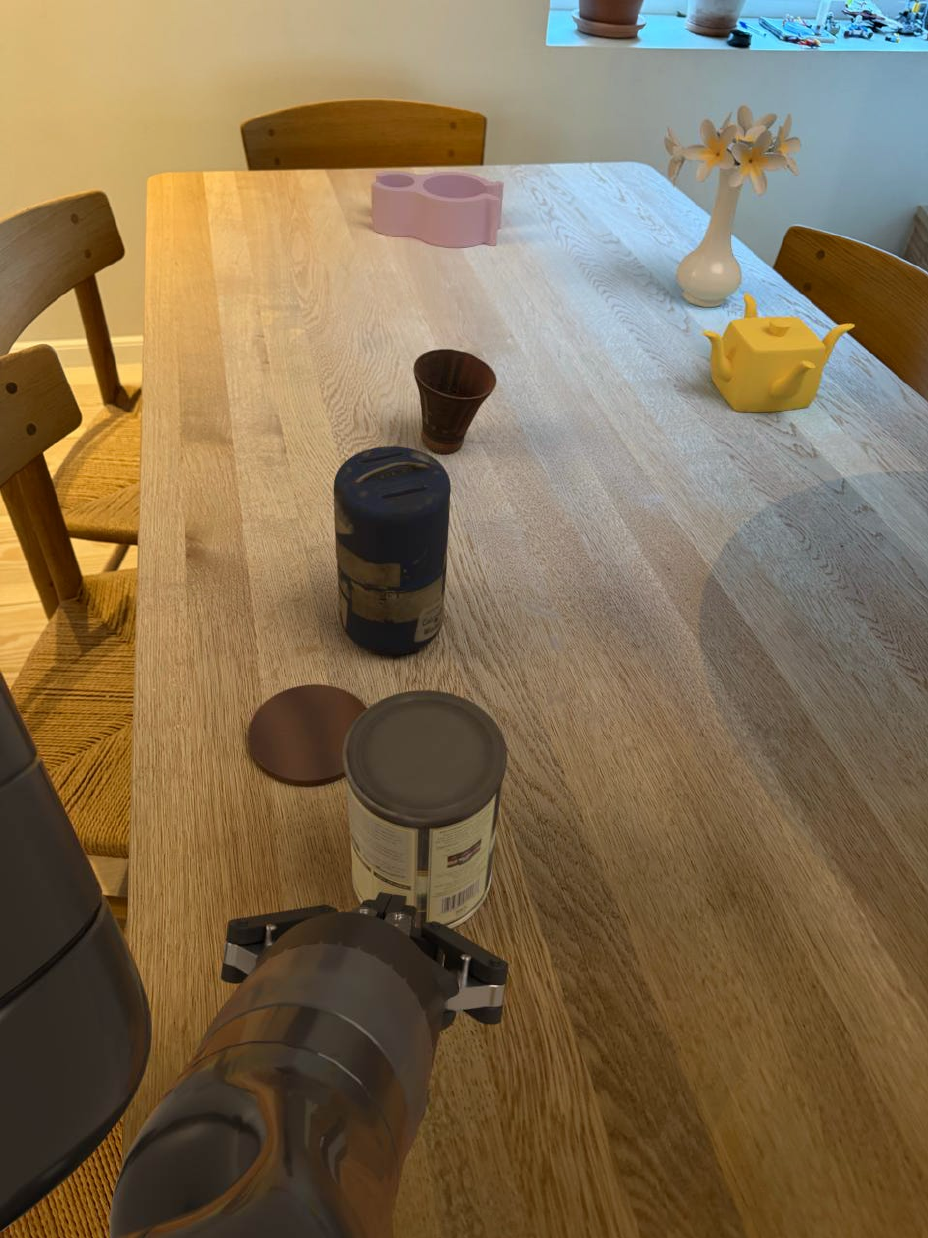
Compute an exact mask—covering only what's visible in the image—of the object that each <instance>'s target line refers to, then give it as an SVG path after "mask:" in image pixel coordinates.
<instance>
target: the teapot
mask: <svg viewBox="0 0 928 1238" xmlns="http://www.w3.org/2000/svg"><path fill="white" fill-rule="evenodd" d="M743 300H744V315H743V318H737V319H732V320H730V321H729V322H728V324H727V326H726V328H725V331H724V332H723V334H722V336H721V335H720V334H719V333H718V332H716V331H712V330H701V331H700V334H702V336H705V337H706V338H708V340H709V342H710V345H711V347H710V359H709V360H710V361H709V362H710V368H711V374H710V375H711V380H712V383H713V384H714V386H715V387H716V388H717V390H718V392H719V393H720V394H721V396H722V397H723V398H724V399H725V401H726V402H727V403H728V405H729V406H730V407H731V408H732V410H734V411H735V412H740V413H775V412H786V411H792V410H793V411H795V410H801V409H805V408H809V407H810V406H811V405H812V403H813V401H814V400H815V398H816V396H817V393H818V391H819V387H820V384H821V381H822V380H821V379H822V376H823V372H824V371H823V370H824V367H825V366H826V365H827V363H828V361H829V359H830V357H831V355H832V352H833V350H834V348H835V346H836V344H837V342H838V341H839V339H840V338H841V337H842V336H843V335H844V334H845V333H847V332H849V331H850V330H851V329H854V328H855V327H856V326H855V324H854V323H843V324H839V325H836V326H834V327H833V328H832V329H831V330H829V331H828V333H827V334H826V335H825V336H824V338H822V340H821V339H820V337H818V336H817V334H816V333H815V332H814V331H813V330H812V329H811V328H810V327H809V326H808V325H807V324H806V323H805V322H804V321H803V320H802V319H801V318H800V317H798V316H758V307H757V302H756V300H755V298H754V296H752V295H751V294H750V293H744V294H743Z"/></svg>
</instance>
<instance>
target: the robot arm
mask: <svg viewBox="0 0 928 1238" xmlns="http://www.w3.org/2000/svg"><path fill="white" fill-rule="evenodd" d="M39 751H40V750H39V748H38V745H37V744H36V742H35V740H34V738H33V735H32V733H31V731H30V729H29V727H28V725H27V723H26V720H25V718H24V716H23V715H22V712H21V711H20V708H19V705H18V703H17V702H16V700H15V697H14V695H13V694H12V692H11V689H10V687H9V685H8V683H7V680H6V679H5V676H4V675H3V673H2V670H1V669H0V1234H1V1233H2V1232H3V1231H5V1230H6V1229H8V1228H9V1227H10V1226H12V1225H13V1224H14V1223H15V1222H17V1221H18V1220H20V1219H21V1218H22V1217H23V1216H25V1215H26V1214H28V1213H29V1212H30V1211H32V1209H33V1208H34V1207H36V1206H37V1205H39V1203H41V1201H43V1200H44V1199H45V1198H47V1197H48V1196H49V1195H50V1194H51V1193H53V1192H54V1191H55V1190H56V1189H57V1188H58V1187H59V1186H61V1185H62V1184H63V1183H64V1182H66V1181H67V1180H68V1179H69V1178H70V1177H71V1176H72V1175H73V1174H74V1173H75V1172H76V1171H77V1170H78V1169H79V1168H80V1167H81V1166H82V1165H83V1164H84V1163H85V1162H86V1161H87V1160H88V1159H89V1158H90V1157H91V1156H92V1155H93V1154H94V1153H95V1151H96V1150H97V1149H98V1148H100V1146H101V1144H102V1143H103V1142H104V1141H105V1140H106V1139H107V1137H108V1136H109V1135H110V1134H111V1132H112V1131H113V1129H114V1128H115V1126H116V1125H118V1123H119V1121H120V1120H121V1119H122V1118H123V1115H124V1114H125V1113H126V1112H127V1110H128V1107H129V1106H130V1104H131V1103H132V1100H133V1099H134V1097H135V1096H136V1093H137V1092H138V1090H139V1088H140V1085H141V1083H142V1080H143V1079H144V1076H145V1073H146V1070H147V1066H148V1063H149V1059H150V1054H151V1048H152V1038H153V1028H152V1027H153V1026H152V1016H151V1015H152V1014H151V1009H150V1003H149V997H148V996H147V992H146V990H145V986H144V983H143V979H142V976H141V974H140V971H139V968H138V965H137V963H136V961H135V957H134V956H133V954H132V953H133V952H132V951H131V948H130V946H129V944H128V942H127V939H126V936H125V934H124V932H123V930H122V928H121V925H120V923H119V921H118V919H117V918H116V915H115V913H114V910H113V908H112V907H111V904H110V902H109V901H108V899H107V896H106V894H104V893H103V891H104V890H103V888H102V885H101V883H100V881H99V879H98V876H97V874H96V872H95V870H94V867H93V865H92V863H91V861H90V859H89V857H88V854H87V853H86V850H85V849H84V846H83V844H82V842H81V839H80V838H79V835H78V833H77V831H76V829H75V827H74V824H73V822H72V820H71V818H70V816H69V813H68V811H67V809H66V807H65V805H64V803H63V801H62V799H61V796H60V794H59V792H58V789H57V788H56V785H55V783H54V780H53V778H52V777H51V775H50V772H49V770H48V768H47V766H46V764H45V761H44V759H43V757H42V755H40V754H39ZM406 900H407V896H402V895H396V894H389V893H383V892H379V894H378V896H377V897H376V899H375V900H371V899H367V900H365V901H363V902H362V904H361V903H360V906H357V907H353V908H352V909H351V910H349V911H345V910H341V911H339V909H338V908H336V907H334V906H332V905H330V904H319V905H313V906H306V907H300V908H295V909H288V910H282V911H281V910H280V911H275V912H269V913H263V914H257V915H252V916H246V917H238V918H232V919H229V920H228V921H227V929H226V936H225V938H224V945H223V952H222V953H223V954H222V965H221V972H220V979H221V981H223V982H224V983H228V984H231V985H237V984H239V985H238V986H237V988H236V989H235V990H234V991H233V993H232V994H231V996H229V998H228V999H227V1000H226V1001H225V1003H224V1004H223V1006H221V1008H220V1009H219V1011H218V1012H217V1013H216V1015H215V1016H214V1017H213V1019H212V1020H211V1022H210V1024H209V1026H208V1027H207V1029H206V1031H205V1033H204V1035H203V1037H202V1038H201V1041H200V1043H199V1045H198V1047H197V1050H196V1053H195V1054H194V1055H193V1057H192V1058H191V1060H190V1061H189V1062H188V1063H187V1065H186V1066H185V1067H184V1069H183V1070H182V1071H181V1072H180V1073H179V1075H178V1076H177V1078H176V1079H175V1080H174V1082H172V1083H171V1085H169V1087H168V1089H167V1090H166V1091H165V1092H164V1094H163V1095H162V1097H161V1098H160V1099H159V1100H158V1101H157V1103H156V1104H155V1105H154V1107H153V1108H152V1110H151V1111H150V1112H149V1114H148V1116H147V1117H146V1119H145V1120H144V1122H143V1123H142V1125H141V1127H140V1129H139V1131H138V1132H137V1134H136V1136H135V1137H134V1139H133V1141H132V1142H131V1144H130V1146H129V1148H128V1149H127V1152H126V1155H125V1157H124V1159H123V1163H122V1165H121V1168H120V1170H119V1173H118V1175H117V1178H116V1181H115V1184H114V1190H113V1194H112V1201H111V1205H110V1212H109V1227H108V1228H109V1229H108V1232H109V1238H395V1231H394V1213H395V1209H396V1203H397V1197H398V1193H399V1188H400V1185H401V1184H400V1183H401V1179H402V1176H403V1175H402V1174H403V1170H404V1165H405V1162H406V1159H407V1157H408V1155H409V1153H410V1151H411V1149H412V1147H413V1144H414V1143H415V1140H416V1138H417V1135H418V1132H419V1129H420V1127H421V1124H422V1122H423V1120H424V1117H425V1115H426V1112H427V1109H428V1107H429V1103H430V1094H431V1091H430V1084H431V1083H430V1082H431V1078H432V1073H433V1067H434V1062H435V1057H436V1053H437V1048H438V1043H439V1038H440V1033H441V1032H443V1031H445V1030H447V1029H449V1028H450V1027H451V1026H452V1025H453V1023H455V1020H456V1017H457V1014H463V1013H465V1014H466V1015H467V1016H469V1017H471V1018H472V1019H473V1020H474V1021H476V1022H478V1023H481V1024H483V1025H487V1026H489V1025H491V1026H492V1025H493V1026H494V1025H499V1024H501V1022H502V1019H503V1009H504V1003H505V995H506V989H507V981H508V974H509V973H508V972H509V966H510V965H509V962H507V961H505V960H504V959H502V958H501V957H499V956H497V955H496V954H494V953H492V952H491V951H489V950H487V949H485V948H484V947H483V946H481V945H479V944H477V943H475V942H474V941H473V940H470V939H469V938H467V937H466V936H464V935H463V934H461V933H459V932H458V931H456V930H454V929H453V928H452V929H451V928H449V927H447V926H445V925H443V924H441V923H439V922H435V921H432V922H426V923H423V924H422V929H419V928H417V927H415V923H416V916H417V908H416V907H415V906H411V905H406ZM0 1238H2V1237H1V1236H0Z"/></svg>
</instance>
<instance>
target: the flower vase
mask: <svg viewBox="0 0 928 1238" xmlns="http://www.w3.org/2000/svg"><path fill="white" fill-rule="evenodd" d="M732 114H733V110H731V111H730V112H729V114H728V115H727V117H726V118H725V120H724V122H723V123H722V125H721V127H719V129H718V130H717V129H716V126H715V124H714V122H712V120H711V119H709V118H705V119H703V120H702V122H701V123H700V126H699V127H700V128H699V133H700V138H701V141H702V143H703V144H702V143H701V144H700V143H696V144H691V145H688V146H686V147H684V145H683V144H682V143H681V141H679V139H678V138H677V137H676V135H675V134H674V132H673V130H672V128H671V127H670V125H669V124H668V123H667V124H666V128H667V132H668V136H664V139H663V142H664V146H665V149H666V151H667V153H668V154H669V155H670V156H673V157H672V158H671V159H670V160H669V162H668V167H667V178H668V180H670V179H671V178H673V179H672V187H673V188H675V185H676V183H677V180H678V177H679V174H680V172H681V169H682V167H683V165H684V162H685V161H688V162H690V163H691V162H701V163H700V164H698V166H697V169H696V173H695V180H696V182H697V183H703V182H704V181H706V180H707V179H708V178H709V176H710V175H711V173H712V171H713V170H714V168H715V167H716V166H717V167H718V181H717V182H718V184H717V191H716V196H715V200H714V203H713V208H712V212H711V216H710V218H709V222H708V226H707V229H706V231H705V233H704V235H703V237H702V240H701V241H700V242H699V244H698V245H697V247H696V248H694V249H693V250H692V251H691V252H689V253H688V254H686V255H685V256H684V257H683V258H682V260H681V261H680V262H679V264H678V266H677V267H676V270H675V271H676V272H675V278H676V281H677V283H678V286H679V287H680V289H681V290H682V296H683V298H684V300H685V301H687V303H690V304H691V305H694V306H698V307H702V308H715V307H716V308H717V307H719V306H721V305H723V304H724V303H725V302H726V300H727V299H728V298H729V297H730V296H732V295H734V294H735V293H736V292H737V291H738V289H739V288H740V286H741V285H742V281H743V274H742V267H741V265H740V263H739V261H738V260H737V259H736V257H735V255H734V253H733V247H732V232H733V225H734V221H735V215H736V210H737V206H738V201H739V197H740V195H741V191H742V188H743V186H744V183H745V182H746V181H747V180H748V179H749V183H750V186H751V188H752V190H753V192H754V194H756V195H758V196H763V195H765V194H766V192H767V190H768V177H767V175H766V172H775V171H778V170H781V169H784V170H785V171H786V170H787V169H789V171H790V172H791V173H792V174H793V176H795V177H799V170H798V165H797V163H796V160H795V159H794V158H793V157H792V155H795V154H797V153H798V152H799V151H800V150H801V149H802V148H801V147H802V141H801V139H800V138H799V137H798V136H790V133H791V130H792V115H791V113H788V114H787V115H786V117H785V120H784V122H783V125H778V126H779V127H778V130H777V135H773V134H772V131H771V130H769V129H771V127H773V125H774V124H775V123H776V122H777V120H778V119H777V118H778V115H777V114H776V113H774V112H771V113H767V114H764V115H763V116H761V117H759V118H758V119H757V120H756V121H755V119H754V115H753V112H752V109H751V108H750V107H749V106H748V105H746V104H742V105H740V106H739V107H738V108H737V111H736V119H737V123H736V122H732V121H731V118H732ZM754 121H755V122H754ZM789 136H790V137H789ZM774 140H775V141H774ZM732 143H733V144H732ZM731 144H732V145H731ZM730 145H731V146H730ZM729 146H730V149H729ZM765 171H766V172H765Z"/></svg>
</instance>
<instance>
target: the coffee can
mask: <svg viewBox="0 0 928 1238" xmlns="http://www.w3.org/2000/svg"><path fill="white" fill-rule="evenodd" d="M366 708H367V709H366V710H365V711H364V712H363V713H362V714H361V715H360V716H359V717H358V718H357V719H356V720H355V721H354V723H353V724H352V726H351V728H350V729H349V731H348V733H347V736H346V738H345V742H344V746H343V755H342V758H343V766H344V771H345V775H346V776H345V782H346V795H347V810H348V811H347V812H348V824H349V826H348V827H349V837H350V840H349V841H350V853H351V882H352V887H353V891H354V893H355V895H356V897H357V900H358V901H359V903H360V905H361V904H362V902H363V901H365V900H367V899H371V900H375V899H376V897H377V896H378V894H379V892H383V893H389V894H396V895H402V896H407V900H406V905H411V906H415V907H416V908H417V916H416V923H415V927H417V928H419V929H422V924H423V923H426V922H432V921H435V922H439V923H441V924H443V925H445V926H447V927H449V928H451V929H452V930H453V929H455V928H456V927H458V926H460V925H462V924H463V923H464V922H466V921H467V920H468V919H470V918H471V917H472V916H474V914H475V913H476V912H477V911H478V910H479V908H480V907H481V906H482V904H483V903H484V902H485V901H486V898H487V896H488V893H489V892H490V891H489V890H490V888H491V883H492V877H493V876H492V874H493V869H492V868H493V860H494V850H495V843H496V835H497V827H498V826H497V824H498V818H499V812H500V802H501V793H502V788H503V787H502V786H503V781H504V779H505V775H506V771H507V766H508V748H507V743H506V740H505V737H504V735H503V733H502V730H501V728H500V727H499V725H498V724H497V722H496V721H495V720H494V719H493V718H492V716H491V715H490V714H489V713H488V712H487V711H486V710H484V709H483V707H480V706H479V705H478V704H476V703H474V702H472V701H471V700H468V699H466V698H464V697H462V696H459V695H456V694H453V693H450V692H446V691H440V690H431V689H419V690H418V689H417V690H408V691H407V690H406V691H403V692H399V693H395V694H393V695H389V696H386V697H383V698H382V699H380V700H379V701H376V702H375V703H373V704H371V705H370V706H368V707H366Z"/></svg>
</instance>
